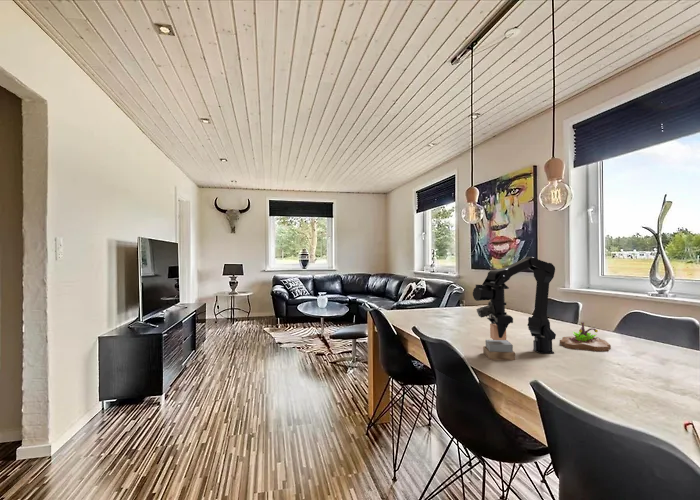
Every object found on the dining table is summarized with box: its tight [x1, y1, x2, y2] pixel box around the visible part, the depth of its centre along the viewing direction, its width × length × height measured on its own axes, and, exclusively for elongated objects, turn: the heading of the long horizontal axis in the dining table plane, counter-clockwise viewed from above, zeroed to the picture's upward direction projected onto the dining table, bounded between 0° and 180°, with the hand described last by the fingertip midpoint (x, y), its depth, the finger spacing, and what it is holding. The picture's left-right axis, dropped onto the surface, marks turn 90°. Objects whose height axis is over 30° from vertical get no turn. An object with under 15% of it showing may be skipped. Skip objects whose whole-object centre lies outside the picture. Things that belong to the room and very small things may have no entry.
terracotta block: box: [489, 323, 507, 340], centre depth 151 cm, size 5×5×6 cm
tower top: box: [485, 339, 514, 352], centre depth 151 cm, size 9×9×3 cm
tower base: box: [482, 345, 516, 361], centre depth 151 cm, size 10×10×4 cm
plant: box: [559, 321, 612, 352], centre depth 168 cm, size 20×20×11 cm
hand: (498, 336), depth 151 cm, fingers closed on terracotta block, 5 cm apart
